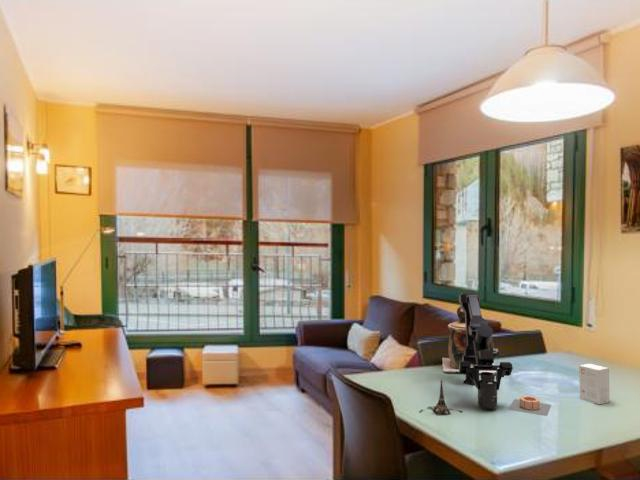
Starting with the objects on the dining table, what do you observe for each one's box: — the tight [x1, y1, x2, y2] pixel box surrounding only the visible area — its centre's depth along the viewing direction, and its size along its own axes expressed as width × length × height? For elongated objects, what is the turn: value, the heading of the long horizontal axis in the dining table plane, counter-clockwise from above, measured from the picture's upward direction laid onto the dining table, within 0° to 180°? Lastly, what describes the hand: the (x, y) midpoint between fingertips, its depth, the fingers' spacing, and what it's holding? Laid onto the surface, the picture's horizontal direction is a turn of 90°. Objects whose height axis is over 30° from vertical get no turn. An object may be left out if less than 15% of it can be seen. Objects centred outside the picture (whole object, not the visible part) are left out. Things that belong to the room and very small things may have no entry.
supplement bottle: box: [477, 372, 498, 410], centre depth 175 cm, size 7×7×12 cm
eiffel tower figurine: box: [418, 377, 464, 417], centre depth 173 cm, size 15×10×13 cm
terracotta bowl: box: [519, 395, 541, 410], centre depth 176 cm, size 7×7×3 cm
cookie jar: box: [441, 305, 497, 375], centre depth 231 cm, size 25×25×32 cm
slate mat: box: [507, 398, 552, 417], centre depth 176 cm, size 13×13×1 cm
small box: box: [578, 363, 611, 405], centre depth 183 cm, size 8×6×13 cm
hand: (488, 389), depth 174 cm, fingers closed on supplement bottle, 7 cm apart
